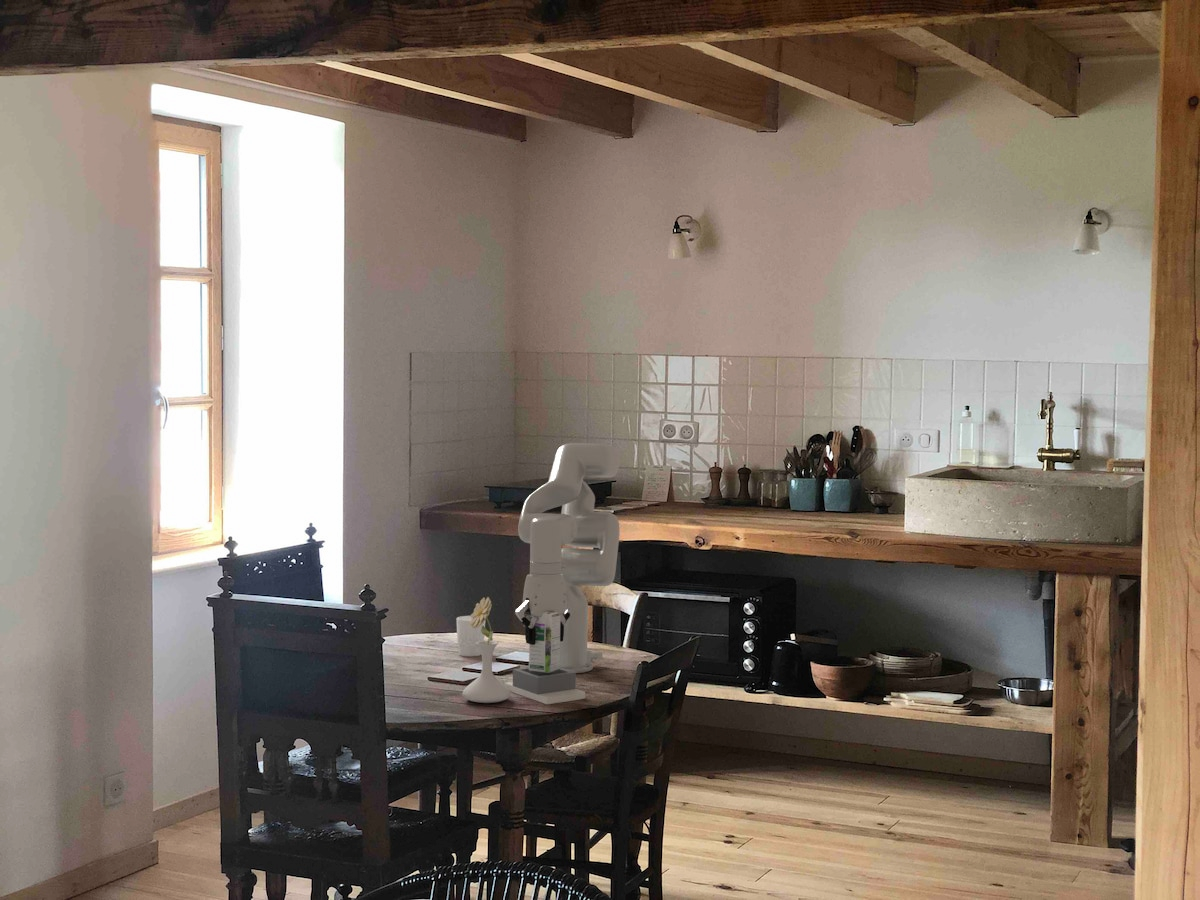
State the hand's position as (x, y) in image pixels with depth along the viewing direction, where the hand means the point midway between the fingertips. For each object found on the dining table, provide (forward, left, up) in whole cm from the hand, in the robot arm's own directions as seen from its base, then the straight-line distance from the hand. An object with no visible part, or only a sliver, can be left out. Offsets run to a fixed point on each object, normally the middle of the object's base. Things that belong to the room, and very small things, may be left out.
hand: (544, 641), depth 329 cm
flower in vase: (+16, 0, -13) cm, 21 cm away
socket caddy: (0, 0, -13) cm, 13 cm away
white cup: (-9, -50, -13) cm, 52 cm away
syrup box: (0, 0, -7) cm, 7 cm away
